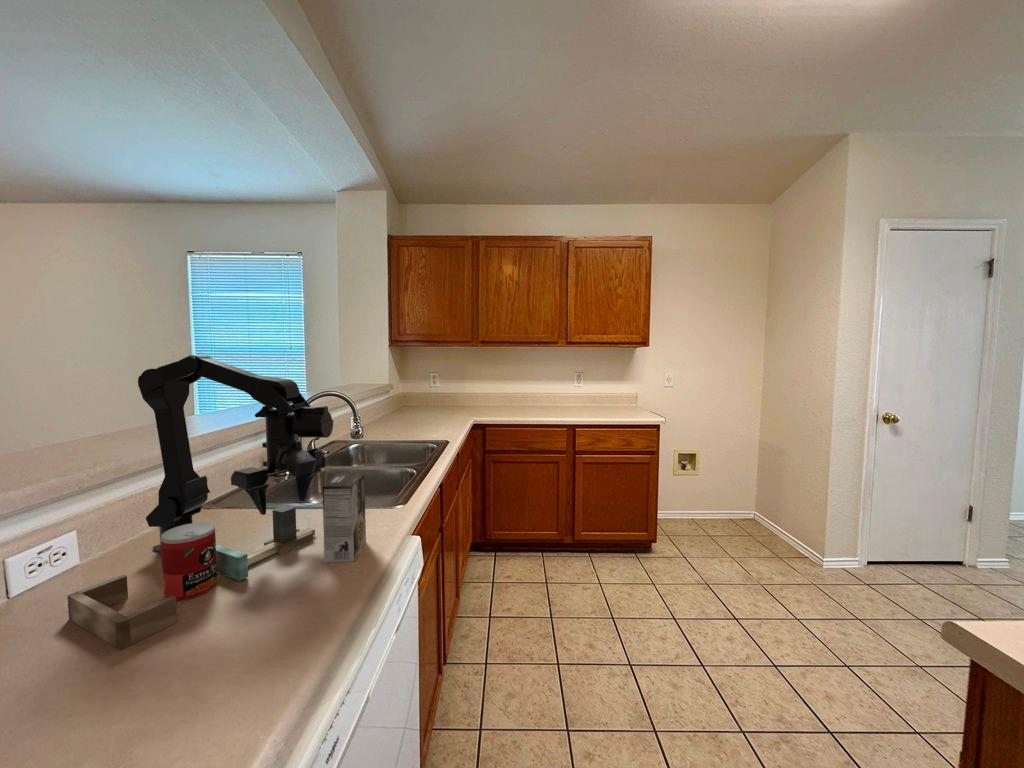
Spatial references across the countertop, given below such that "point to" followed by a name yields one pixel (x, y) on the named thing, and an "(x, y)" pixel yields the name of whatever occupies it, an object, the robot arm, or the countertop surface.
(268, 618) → the countertop surface
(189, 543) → the canned food
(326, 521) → the coffee box
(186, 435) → the robot arm
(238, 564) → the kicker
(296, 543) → the guide
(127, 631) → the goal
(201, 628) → the countertop surface
